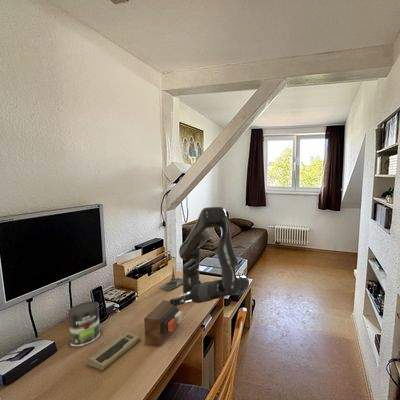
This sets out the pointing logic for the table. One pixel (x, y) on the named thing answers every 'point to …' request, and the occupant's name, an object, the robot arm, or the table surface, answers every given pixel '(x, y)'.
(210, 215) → the robot arm
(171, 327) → the terracotta key
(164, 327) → the key block
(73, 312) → the coffee can
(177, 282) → the eiffel tower figurine
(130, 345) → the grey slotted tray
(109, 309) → the calculator
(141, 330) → the table surface
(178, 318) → the cream key
